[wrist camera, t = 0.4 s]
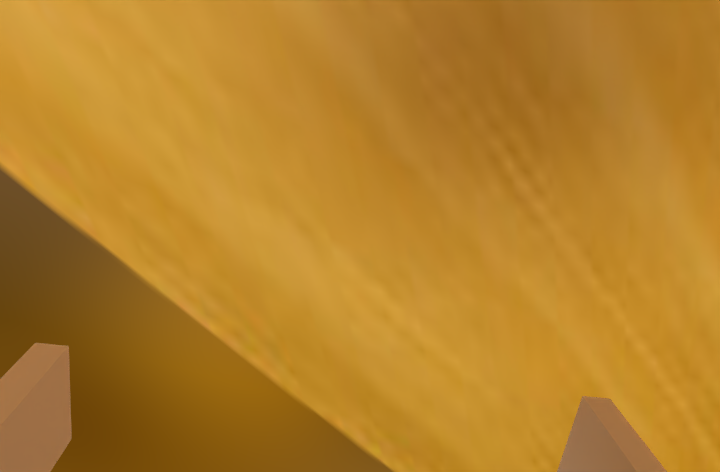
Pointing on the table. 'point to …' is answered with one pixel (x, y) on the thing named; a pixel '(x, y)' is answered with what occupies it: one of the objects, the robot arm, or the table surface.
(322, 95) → the table surface
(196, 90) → the table surface
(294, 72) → the table surface
